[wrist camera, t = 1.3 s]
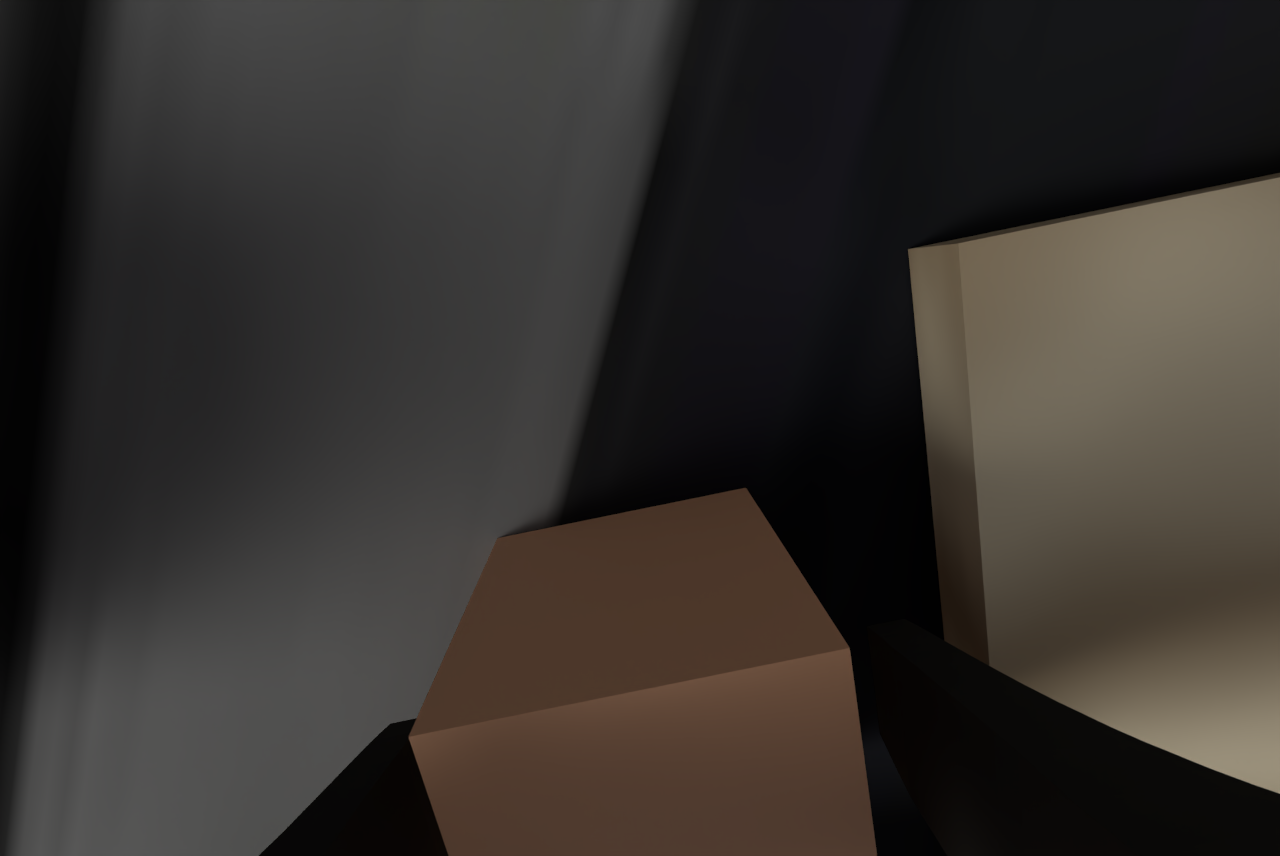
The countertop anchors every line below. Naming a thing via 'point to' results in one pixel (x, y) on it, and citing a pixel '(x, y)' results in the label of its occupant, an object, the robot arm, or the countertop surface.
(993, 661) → the birch board
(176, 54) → the countertop surface
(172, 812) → the countertop surface
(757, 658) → the terracotta block
